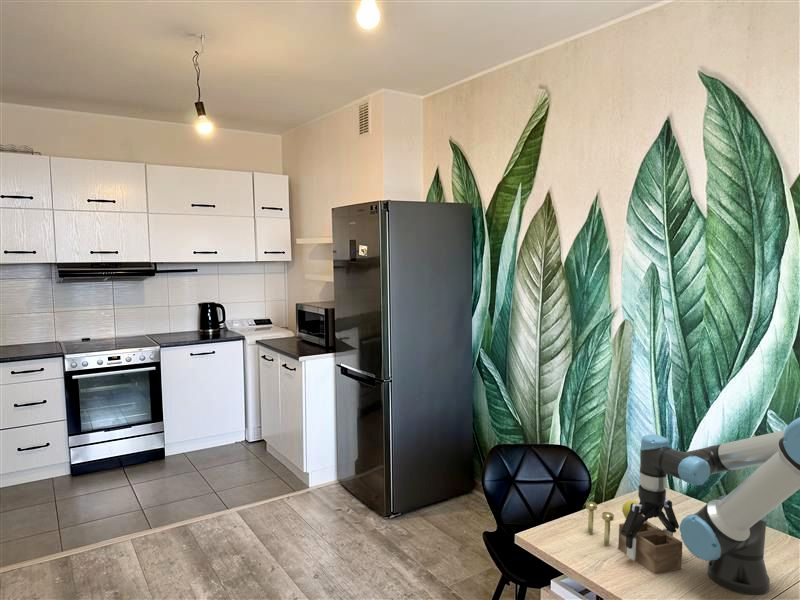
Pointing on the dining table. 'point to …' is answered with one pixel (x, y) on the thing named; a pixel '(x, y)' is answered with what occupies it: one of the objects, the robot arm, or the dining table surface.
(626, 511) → the light bulb
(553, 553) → the dining table surface
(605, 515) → the post
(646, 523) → the keyhole block
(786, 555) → the dining table surface
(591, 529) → the post
